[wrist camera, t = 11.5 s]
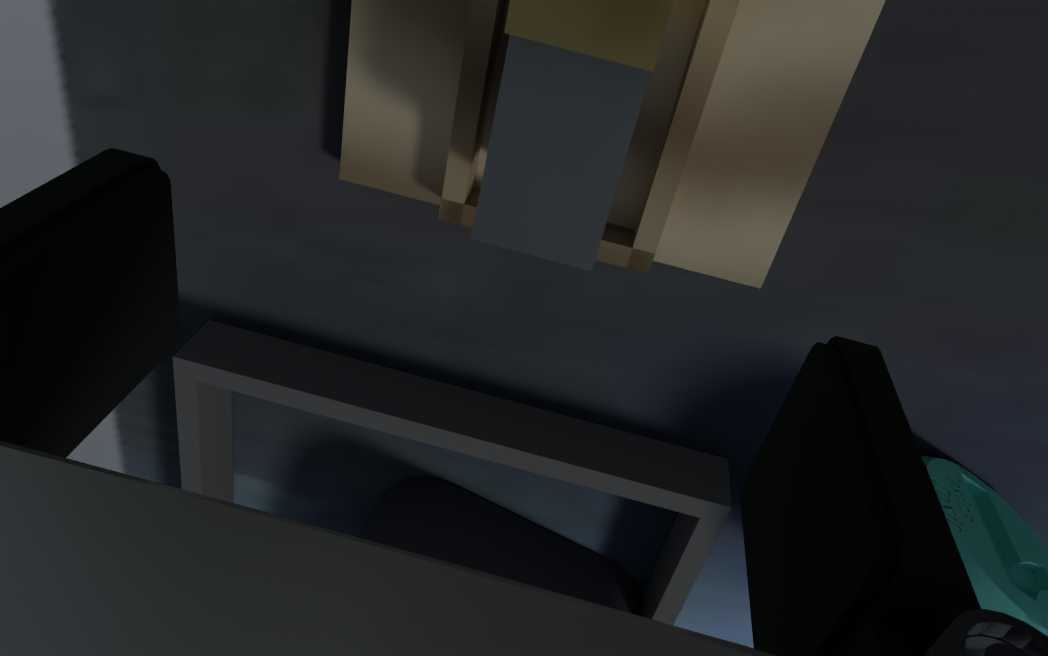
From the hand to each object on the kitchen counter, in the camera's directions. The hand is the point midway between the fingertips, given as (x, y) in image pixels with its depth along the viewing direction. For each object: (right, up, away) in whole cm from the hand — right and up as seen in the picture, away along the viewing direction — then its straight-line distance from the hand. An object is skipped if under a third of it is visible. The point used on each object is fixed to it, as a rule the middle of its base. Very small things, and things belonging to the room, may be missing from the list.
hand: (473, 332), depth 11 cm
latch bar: (+3, +8, +14) cm, 16 cm away
